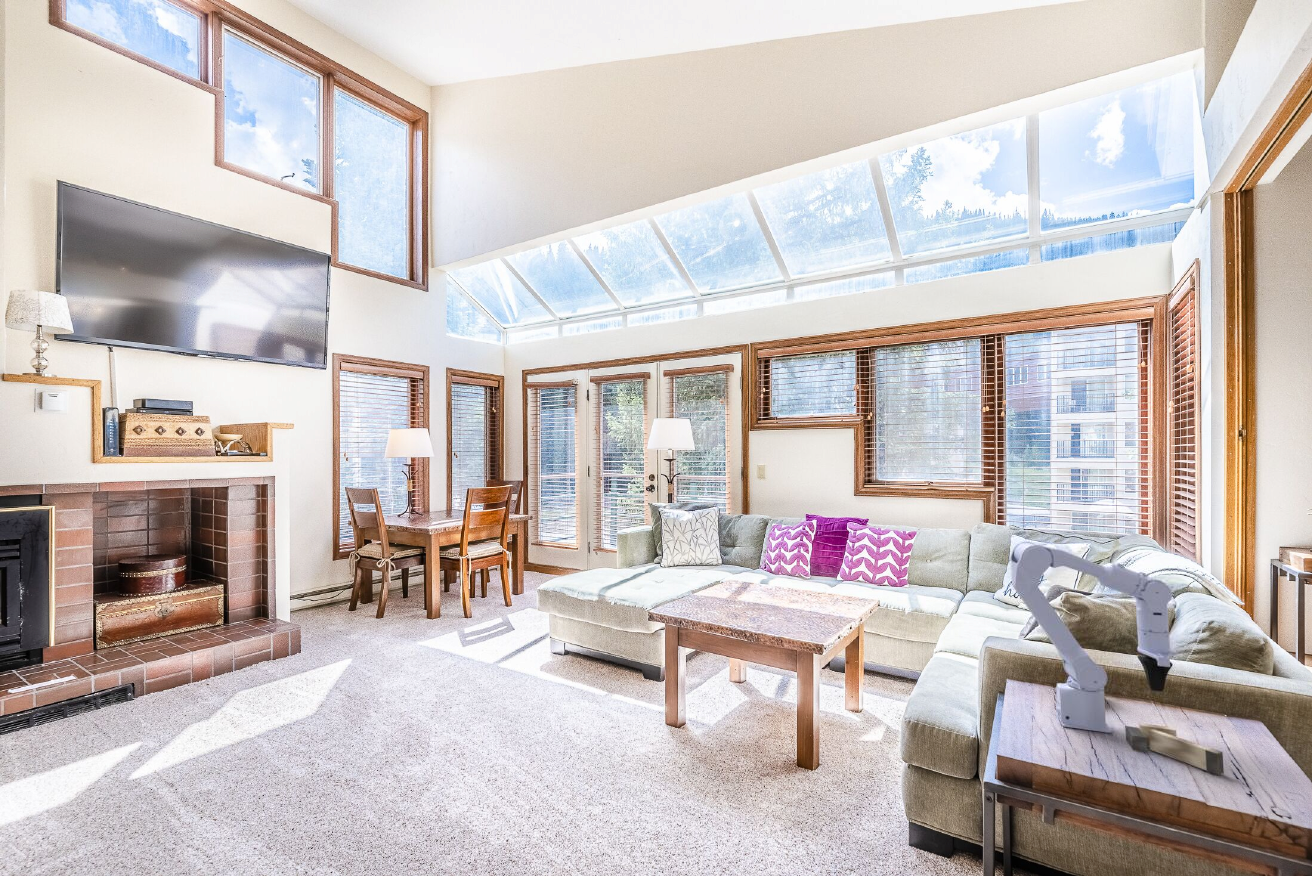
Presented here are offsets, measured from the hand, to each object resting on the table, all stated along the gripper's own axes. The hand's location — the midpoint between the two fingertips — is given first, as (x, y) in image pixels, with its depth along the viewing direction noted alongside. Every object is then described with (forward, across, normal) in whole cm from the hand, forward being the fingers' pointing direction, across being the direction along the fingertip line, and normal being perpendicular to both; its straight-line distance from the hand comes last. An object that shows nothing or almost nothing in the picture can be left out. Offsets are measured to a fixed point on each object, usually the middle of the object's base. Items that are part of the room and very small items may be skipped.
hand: (1156, 690), depth 141 cm
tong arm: (+9, -16, 0) cm, 19 cm away
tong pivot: (+9, -11, +4) cm, 15 cm away
